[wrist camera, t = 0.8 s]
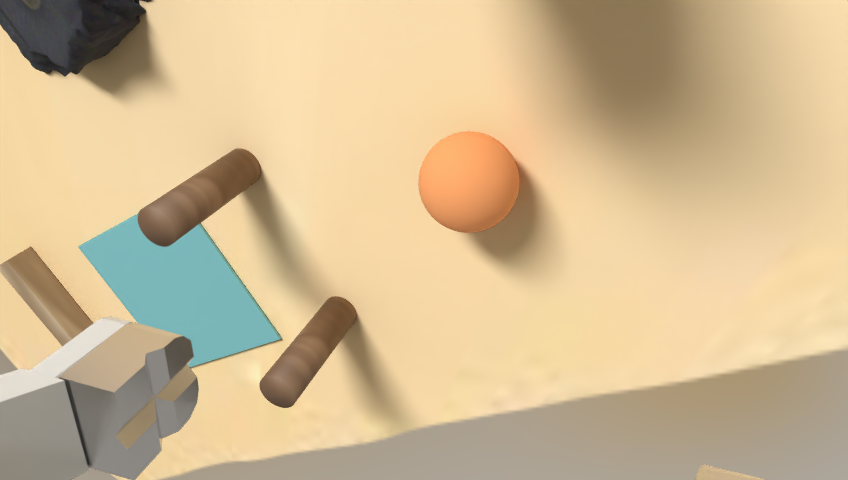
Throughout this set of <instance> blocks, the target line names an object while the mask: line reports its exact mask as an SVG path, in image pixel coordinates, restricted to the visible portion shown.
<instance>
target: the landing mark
mask: <svg viewBox="0 0 848 480" xmlns="http://www.w3.org/2000/svg"><path fill="white" fill-rule="evenodd" d="M79 249H80V250H81V251H82V253H83V254H84V255H85V256H86V258H87V259H88V260H89V261H90V263H91V264H92V265H93V267H94V268H95V269H96V270H97V272H98V273H99V274H100V275H101V277H102V278H103V279H104V281H105V282H106V283H107V284H108V286H109V287H110V288H111V289H112V291H113V292H114V293H115V295H116V296H117V297H118V298H119V300H120V301H121V302H122V303H123V305H124V306H125V307H126V309H127V310H128V311H129V312H130V314H131V315H132V316H133V317H134V319H135V320H136V321H137V323H139V324H143V325H146V326H150V327H154V328H157V329H161V330H164V331H168V332H172V333H175V334H179V335H182V336H185V337H186V338H188V339H189V340H191V344H192V349H193V354H194V357H193V358H192V360H191V361H190V362H189V364H188V366H189V367H192V366H196V365H199V364H202V363H205V362H208V361H212V360H215V359H218V358H221V357H225V356H228V355H231V354H234V353H237V352H241V351H244V350H247V349H250V348H254V347H257V346H260V345H263V344H267V343H270V342H273V341H276V340H279V339H281V336H280V335H279V334H278V332H277V331H276V329H275V328H274V327H273V325H272V324H271V322H270V321H269V320H268V318H267V317H266V315H265V314H264V312H263V311H262V310H261V308H260V307H259V305H258V304H257V303H256V301H255V300H254V298H253V297H252V296H251V294H250V293H249V291H248V290H247V289H246V287H245V286H244V284H243V283H242V281H241V280H240V279H239V277H238V276H237V274H236V273H235V272H234V270H233V269H232V267H231V266H230V265H229V263H228V262H227V260H226V259H225V258H224V256H223V255H222V253H221V252H220V250H219V249H218V248H217V246H216V245H215V243H214V242H213V241H212V239H211V238H210V236H209V235H208V234H207V232H206V231H205V229H204V228H203V227H202V225H201V224H198V225H197V226H196V227H194V228H193V229H192V230H190V231H189V232H188V233H186V234H185V235H184V236H182V237H181V238H180V239H178V240H177V241H176V242H174V243H173V244H172V245H170V246H167V247H162V246H158V245H156V244H154V243H152V242H151V241H150V240H148V239H147V238H146V237H145V235H144V234H143V233H142V231H141V229H140V227H139V224H138V214H137V215H135V216H133V217H131V218H129V219H127V220H126V221H124V222H122V223H120V224H118V225H117V226H115V227H113V228H111V229H109V230H107V231H106V232H104V233H102V234H100V235H98V236H97V237H95V238H93V239H91V240H89V241H87V242H86V243H84V244H82V245H80V246H79Z"/></svg>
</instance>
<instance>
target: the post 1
mask: <svg viewBox="0 0 848 480" xmlns="http://www.w3.org/2000/svg"><path fill="white" fill-rule="evenodd" d="M260 173H261V170H260V165H259V163H258V161H257V159H256V158H255V157H254V155H252V154H251V153H250V152H248V151H247V150H244V149H235V150H233V151H231V152H230V153H228V154H227V155H225V156H223V157H222V158H220V159H219V160H217V161H216V162H214V163H213V164H211V165H209V166H208V167H206V168H205V169H203V170H202V171H200V172H199V173H197V174H196V175H194V176H192V177H191V178H189V179H188V180H186V181H185V182H183V183H182V184H180V185H178V186H177V187H175V188H174V189H172V190H171V191H169V192H168V193H166V194H165V195H163V196H161V197H160V198H158V199H157V200H155V201H154V202H152V203H151V204H149V205H147V206H146V207H144V208H143V209H141V210H140V211H139V213H138V224H139V227H140V229H141V231H142V233H143V234H144V235H145V237H146V238H147V239H148V240H150V241H151V242H152V243H154V244H156V245H158V246H162V247H167V246H170V245H172V244H173V243H174V242H176V241H177V240H178V239H180V238H181V237H182V236H184V235H185V234H186V233H188V232H189V231H190V230H192V229H193V228H194V227H196V226H197V225H198V224H200V223H201V222H202V221H204V220H205V219H206V218H208V217H209V216H210V215H212V214H213V213H214V212H216V211H217V210H218V209H220V208H221V207H222V206H224V205H225V204H227V203H228V202H229V201H231V200H232V199H233V198H235V197H236V196H237V195H239V194H240V193H241V192H243V191H244V190H245V189H247V188H248V187H249V186H251V185H252V184H253V183H255V182H256V181H257V180H258V179H259V177H260Z"/></svg>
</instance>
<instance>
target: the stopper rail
mask: <svg viewBox="0 0 848 480" xmlns="http://www.w3.org/2000/svg"><path fill="white" fill-rule="evenodd" d="M0 272H1V273H2V275H3V276H4V277H5V278H6V279H7V281H8V282H9V283H10V284H11V285H12V287H13V288H14V289H15V290H16V291H17V293H18V294H19V295H20V296H21V297H22V298H23V300H24V301H25V302H26V303H27V304H28V306H29V307H30V308H31V309H32V310H33V312H34V313H35V314H36V315H37V316H38V318H39V319H40V320H41V321H42V322H43V324H44V325H45V326H46V327H47V328H48V329H49V331H50V332H51V333H52V334H53V335H54V337H55V338H56V339H57V340H58V341H59V343H60V344H61V345H62V346H64V345H65V344H66V343H68V342H69V341H70V340H72V339H73V338H75V337H76V336H77V335H79V334H80V333H81V332H83V331H84V330H85V329H87V328H88V327H89V326H91V325H92V324H93V323H92V322H91V320H90V319H89V318H88V317H87V315H86V314H85V313H84V312H83V311H82V309H81V308H80V307H79V306H78V304H77V303H76V302H75V301H74V299H73V298H72V297H71V296H70V295H69V293H68V292H67V291H66V290H65V288H64V287H63V286H62V285H61V283H60V282H59V281H58V280H57V279H56V277H55V276H54V275H53V274H52V272H51V271H50V270H49V269H48V267H47V266H46V265H45V264H44V262H43V261H42V260H41V259H40V258H39V256H38V255H37V254H36V253H35V251H34V250H33V249H32V248H31V247H29V248H28V249H26V250H24V251H23V252H21V253H19V254H17V255H16V256H14V257H12V258H11V259H9V260H7V261H6V262H4V263H2V264H1V265H0Z"/></svg>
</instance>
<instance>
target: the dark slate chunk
mask: <svg viewBox="0 0 848 480" xmlns="http://www.w3.org/2000/svg"><path fill="white" fill-rule="evenodd" d="M142 1H146V2H149V1H150V0H142ZM145 12H146V11H145V10H144V9H143V8H142V7H141V6H140V4H139V0H137V3H135V2H133V1H132V0H0V25H1V26H2V28H3V29H4V30H5V31H6V32H7V33H8V35H9V36H10V38H11V39H12V41H13V42H15V43H16V44H17V46H18V48H19V50H20V52H21V53H22V55H23V56H24V57H25V58H27V59H28V60H29V61H30V63H31V65H32V66H33V67H34V68H35V69H37V70H39V71H43V72H45V73H50V72H51V71H52V70H54V71H58V72H60V73H61V74H62V75H64V76H66V75H67V74H69V73H70V72H72V73H74V74H78V73H79V72H80V71H81V70H82V68H83V67H84V66H85V65H86V64H88V63H90V62H91V61H93V60H96V59H99V58H101V57H103V56H105V55H107V54H108V53H109V52H110V51H111V50H112V49H113V48H114V47H115V46H117V45H118V44H119V43H120V41H121V40H122V39H123V38H124V37H125V36H126V35H127V34H128V33H129V32H130V31H131V30H132V29H133V28H134V27H135V26H136V25H137V24H138V23H139V21H140V19H139V15H141V14H144V13H145Z"/></svg>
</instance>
